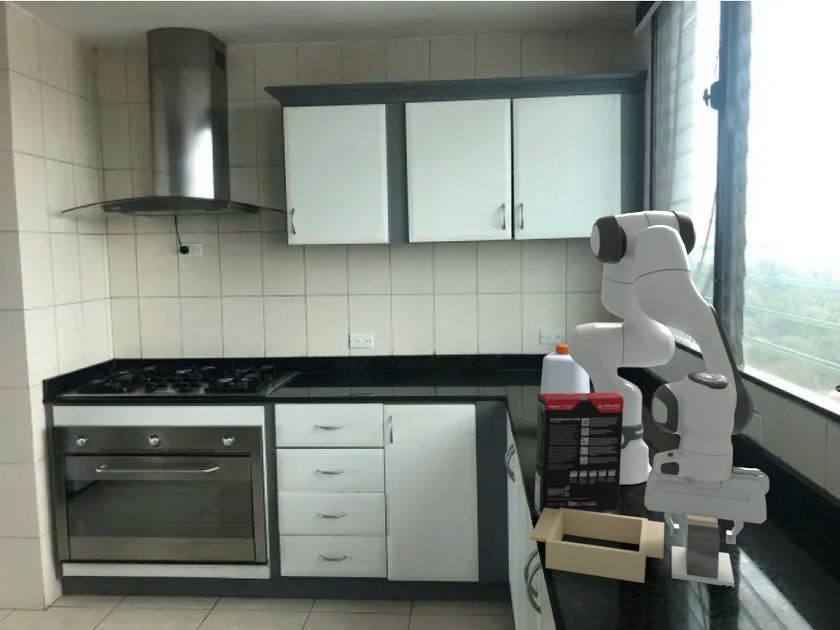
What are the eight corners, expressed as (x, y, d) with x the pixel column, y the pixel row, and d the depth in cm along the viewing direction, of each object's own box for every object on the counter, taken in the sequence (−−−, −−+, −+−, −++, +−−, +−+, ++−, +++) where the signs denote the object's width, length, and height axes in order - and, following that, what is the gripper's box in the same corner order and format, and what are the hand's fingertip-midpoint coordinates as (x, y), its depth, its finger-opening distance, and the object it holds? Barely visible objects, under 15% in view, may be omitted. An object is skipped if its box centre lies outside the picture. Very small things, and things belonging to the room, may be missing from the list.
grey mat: (671, 549, 132) (671, 545, 132) (728, 557, 129) (728, 553, 129) (671, 578, 121) (671, 573, 121) (734, 587, 118) (734, 582, 118)
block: (685, 548, 131) (686, 507, 130) (714, 552, 129) (715, 511, 129) (686, 574, 121) (688, 530, 120) (717, 579, 119) (719, 534, 118)
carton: (544, 529, 142) (545, 505, 142) (663, 545, 134) (664, 520, 134) (529, 565, 126) (529, 538, 126) (662, 585, 118) (663, 557, 118)
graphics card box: (609, 511, 152) (612, 389, 149) (621, 524, 145) (625, 396, 142) (533, 515, 150) (534, 391, 147) (542, 528, 143) (544, 398, 140)
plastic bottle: (593, 432, 217) (595, 343, 214) (584, 444, 203) (586, 350, 200) (546, 426, 223) (547, 340, 220) (533, 438, 209) (535, 347, 207)
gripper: (767, 464, 123) (763, 539, 124) (646, 453, 130) (644, 524, 131) (772, 476, 117) (768, 554, 118) (645, 463, 124) (642, 537, 125)
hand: (702, 538), depth 125 cm, fingers open, 8 cm apart
